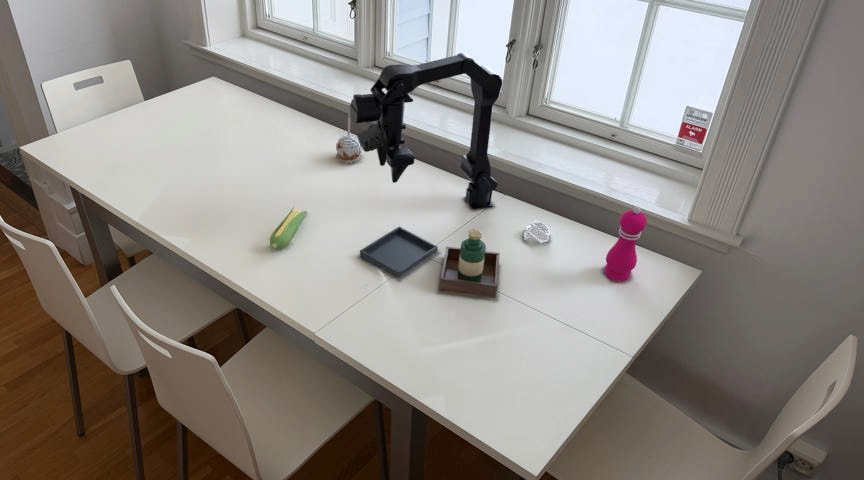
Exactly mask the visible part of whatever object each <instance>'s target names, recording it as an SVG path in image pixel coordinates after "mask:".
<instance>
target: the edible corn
mask: <svg viewBox="0 0 864 480" xmlns="http://www.w3.org/2000/svg"><path fill="white" fill-rule="evenodd" d="M306 215H308V211H307V210H303V211H301V210H299V209H295V205H294V206H293V207H292V209H291V210H290V211H289V213H288V214H287V215H286V217H284V219H283V220H282V221H281V222H280V223H279V225H277V227H276V228H275V229H274V230H273V232H272V233H271V235H270V237H269V245H270V246H271V247H272V248H274V249H278V250H281V249H285V248H287V247H288V245H289V244H290V243H291V241H292V240H293V237H294V236H295V234H296V232H297V231H298V229H299V227H300V225H301V224H302V222H303V221H304V219H305V217H306Z"/></svg>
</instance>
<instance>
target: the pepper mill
mask: <svg viewBox="0 0 864 480" xmlns="http://www.w3.org/2000/svg"><path fill="white" fill-rule="evenodd" d="M647 223H648V220H647V216H646V215H645V213H643V212H642V209H641V207H640V206H638V205H636V206H634V207H632V209H629V210H626V211H625V212H623V213H622V214H621V215H620V218H619V230H618V235H619V237H618V239H617V241H616V242H615V243H614V244H613V246H612V247H611V248H610V249H609V250H608V251H607V253H606V256H605V262H606V264H605V267H604V270H603V272H604V275H605V276H606V277H607V278H608V279H610V280H611V281H614V282H615V281H616V282H626V281H628V280H629V279H630V276H631V274H632V271H633V270H634V269H635V268H636V266H637V262H638V256H637V252H636V245H637V244H636V243H637V241H638V240H639V239H640V238H641V235H642V232H643V231H644V230H645V228H646V227H647Z"/></svg>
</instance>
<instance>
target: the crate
mask: <svg viewBox="0 0 864 480" xmlns="http://www.w3.org/2000/svg"><path fill="white" fill-rule="evenodd" d="M460 250H461V247H455V246H447V245H446V246H445V251H444V256H443V262H442V268H441V273H440V279H439V290H438V291H441V292H449V293H454V294H455V293H456V294H462V295H463V294H465V295H470V296H479V297H485V298H493V299H496V297H497V290H498V285H499V284H498V283H499V268H500V255H501V254H500V252H495V251H488V250H486V251H485V259H484V265H483V271H482V277H481V280H480V281H479V282H474V281H466V280H459V279H458V277H457V274H458V264H459V256H460Z"/></svg>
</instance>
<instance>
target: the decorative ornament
mask: <svg viewBox="0 0 864 480" xmlns="http://www.w3.org/2000/svg"><path fill="white" fill-rule="evenodd" d="M335 144H336V145H335V150H336V156H335V158H337V160H338V161H339V162H342V163H344V164H352V163H353V164H354V163H357V162H359V160H362V157H363V155H362V150H363V148H362V147H361V146H360V143H359V140H358V137H357V136H355V135H354V134H351V115H350V113H347V134H345V135H341V136H340V138H339V139H338V140H337V142H336V143H335Z"/></svg>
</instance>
